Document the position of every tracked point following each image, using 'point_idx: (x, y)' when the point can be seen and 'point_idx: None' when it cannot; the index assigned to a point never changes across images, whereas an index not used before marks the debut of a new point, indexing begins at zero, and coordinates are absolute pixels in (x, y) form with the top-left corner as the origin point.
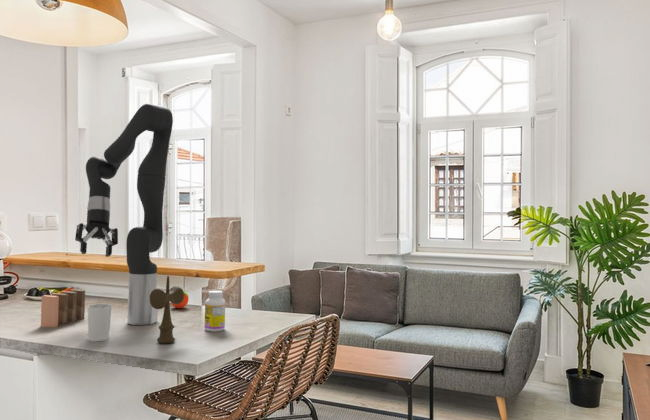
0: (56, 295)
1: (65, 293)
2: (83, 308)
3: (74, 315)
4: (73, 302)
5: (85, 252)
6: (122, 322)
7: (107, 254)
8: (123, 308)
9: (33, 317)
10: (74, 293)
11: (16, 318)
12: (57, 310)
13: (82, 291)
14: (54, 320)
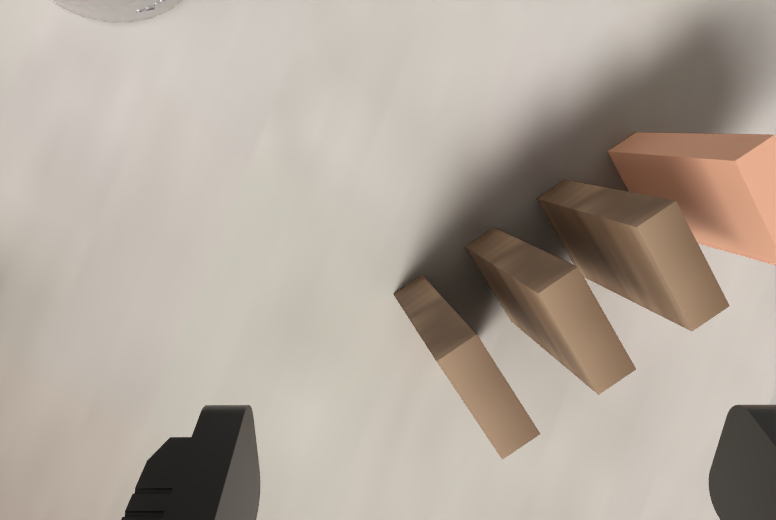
0: (702, 263)
1: (608, 327)
2: (417, 305)
3: (491, 243)
4: (538, 254)
5: (755, 407)
6: (229, 15)
7: (248, 454)
8: (26, 496)
9: (610, 479)
10: (560, 273)
11: (686, 495)
12: (673, 150)
13: (467, 338)
14: (658, 134)
